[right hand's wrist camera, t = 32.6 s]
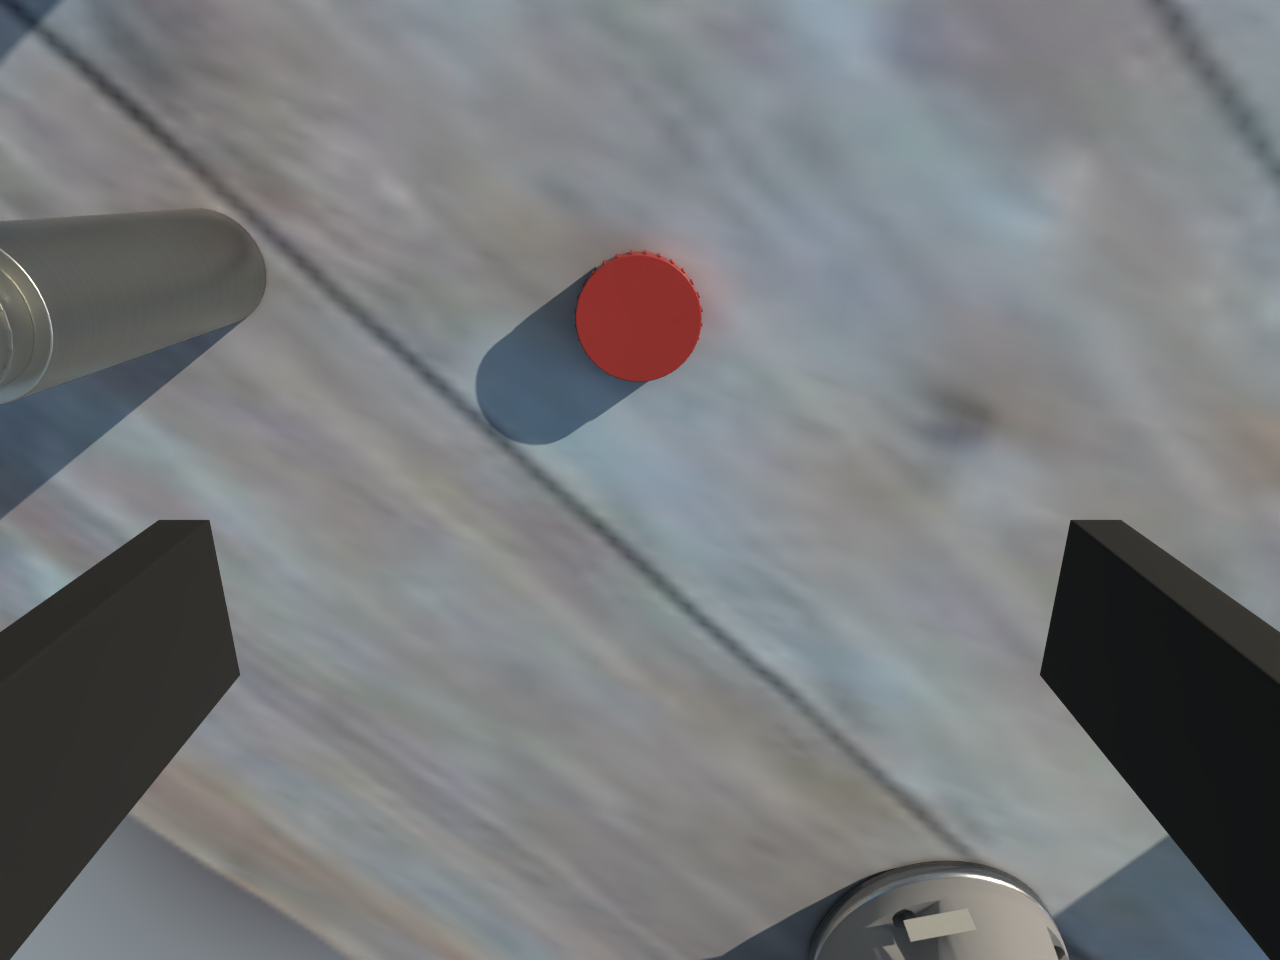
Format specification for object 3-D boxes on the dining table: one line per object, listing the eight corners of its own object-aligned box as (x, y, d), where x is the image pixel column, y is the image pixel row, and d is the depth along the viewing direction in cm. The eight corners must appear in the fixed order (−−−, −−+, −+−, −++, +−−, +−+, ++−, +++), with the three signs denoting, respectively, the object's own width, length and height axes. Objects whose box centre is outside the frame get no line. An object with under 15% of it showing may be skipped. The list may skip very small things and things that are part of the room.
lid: (589, 237, 36) (587, 240, 35) (713, 265, 37) (717, 269, 35) (566, 360, 38) (563, 368, 36) (684, 386, 38) (686, 395, 37)
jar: (137, 213, 36) (-218, 237, 21) (251, 204, 36) (-25, 221, 21) (169, 329, 38) (-138, 426, 23) (278, 320, 37) (40, 413, 23)
